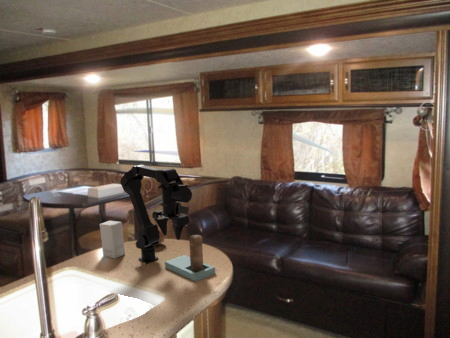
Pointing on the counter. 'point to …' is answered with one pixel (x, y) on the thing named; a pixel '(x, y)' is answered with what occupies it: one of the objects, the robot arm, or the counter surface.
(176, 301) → the counter surface
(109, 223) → the skincare box
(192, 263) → the pepper mill
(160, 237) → the onion
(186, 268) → the socket stand
